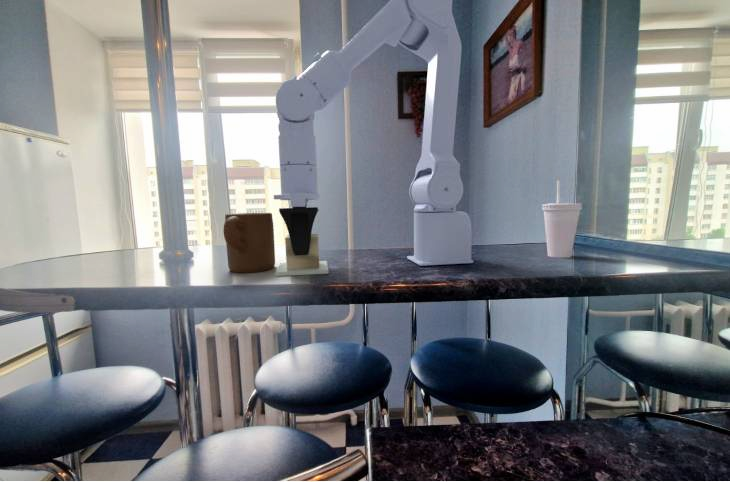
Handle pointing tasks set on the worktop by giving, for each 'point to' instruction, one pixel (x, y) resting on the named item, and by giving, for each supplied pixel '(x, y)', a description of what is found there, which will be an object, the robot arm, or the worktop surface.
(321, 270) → the coaster
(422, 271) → the worktop surface
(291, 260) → the oak block
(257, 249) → the mug
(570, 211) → the smoothie
